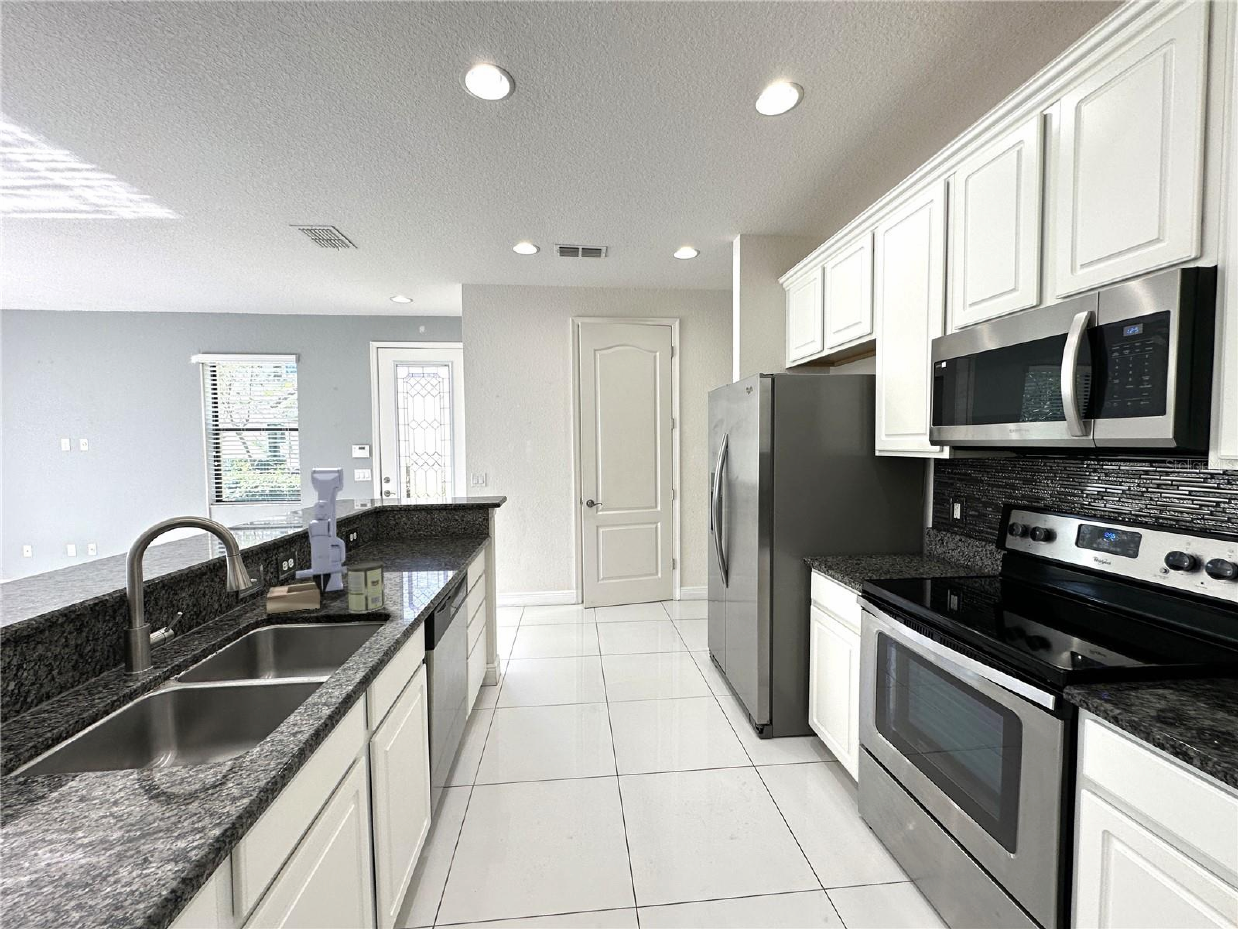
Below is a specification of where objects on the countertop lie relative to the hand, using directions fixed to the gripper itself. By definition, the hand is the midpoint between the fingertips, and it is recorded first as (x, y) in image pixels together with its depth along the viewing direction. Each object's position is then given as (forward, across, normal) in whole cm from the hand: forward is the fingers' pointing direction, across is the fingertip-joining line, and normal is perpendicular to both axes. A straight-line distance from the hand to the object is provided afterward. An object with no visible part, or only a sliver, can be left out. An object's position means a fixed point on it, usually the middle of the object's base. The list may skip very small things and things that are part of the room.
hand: (322, 597), depth 172 cm
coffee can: (+2, +12, -15) cm, 19 cm away
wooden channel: (+2, -8, 0) cm, 8 cm away
